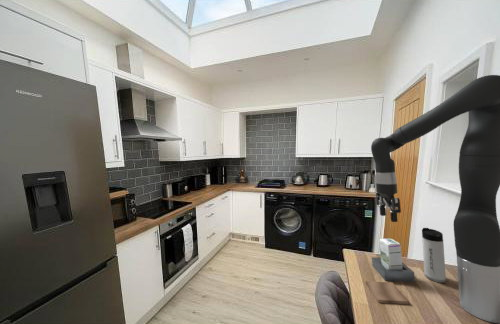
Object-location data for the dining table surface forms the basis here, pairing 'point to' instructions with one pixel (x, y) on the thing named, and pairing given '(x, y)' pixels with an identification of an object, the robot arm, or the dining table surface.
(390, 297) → the walnut board
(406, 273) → the frame
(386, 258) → the syrup box
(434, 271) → the travel mug
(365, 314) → the dining table surface
